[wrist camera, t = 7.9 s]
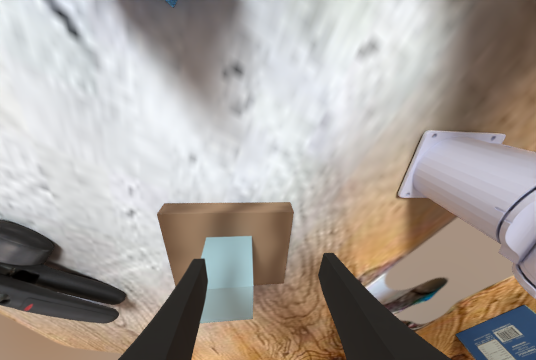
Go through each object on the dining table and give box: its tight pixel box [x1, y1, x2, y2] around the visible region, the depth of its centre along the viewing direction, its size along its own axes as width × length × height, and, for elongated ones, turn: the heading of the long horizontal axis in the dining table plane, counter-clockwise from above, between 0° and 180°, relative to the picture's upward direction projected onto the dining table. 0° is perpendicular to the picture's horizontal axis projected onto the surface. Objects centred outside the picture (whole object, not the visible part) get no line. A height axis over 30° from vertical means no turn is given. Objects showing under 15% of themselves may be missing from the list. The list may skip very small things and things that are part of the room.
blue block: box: [200, 236, 253, 323], centre depth 20 cm, size 5×5×6 cm
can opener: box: [0, 220, 126, 323], centre depth 21 cm, size 18×7×6 cm, turn 35°
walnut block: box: [157, 202, 294, 286], centre depth 24 cm, size 14×12×2 cm
